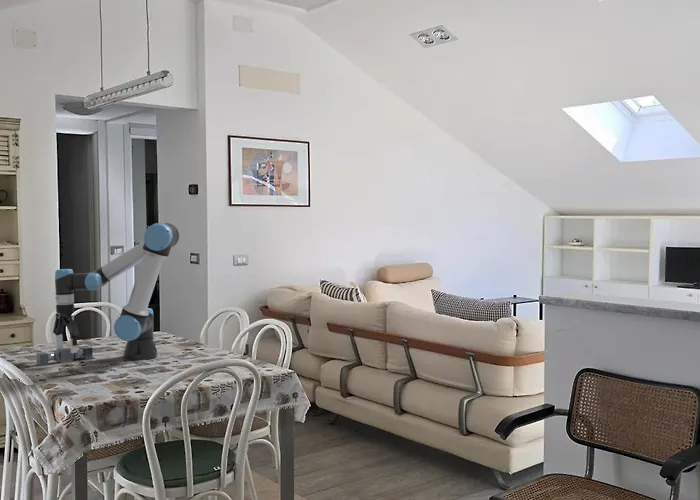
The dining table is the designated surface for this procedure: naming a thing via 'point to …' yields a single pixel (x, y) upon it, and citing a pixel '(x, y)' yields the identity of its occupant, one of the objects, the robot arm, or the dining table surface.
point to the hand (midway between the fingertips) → (66, 351)
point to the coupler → (64, 355)
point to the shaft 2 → (84, 353)
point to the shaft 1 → (45, 358)
